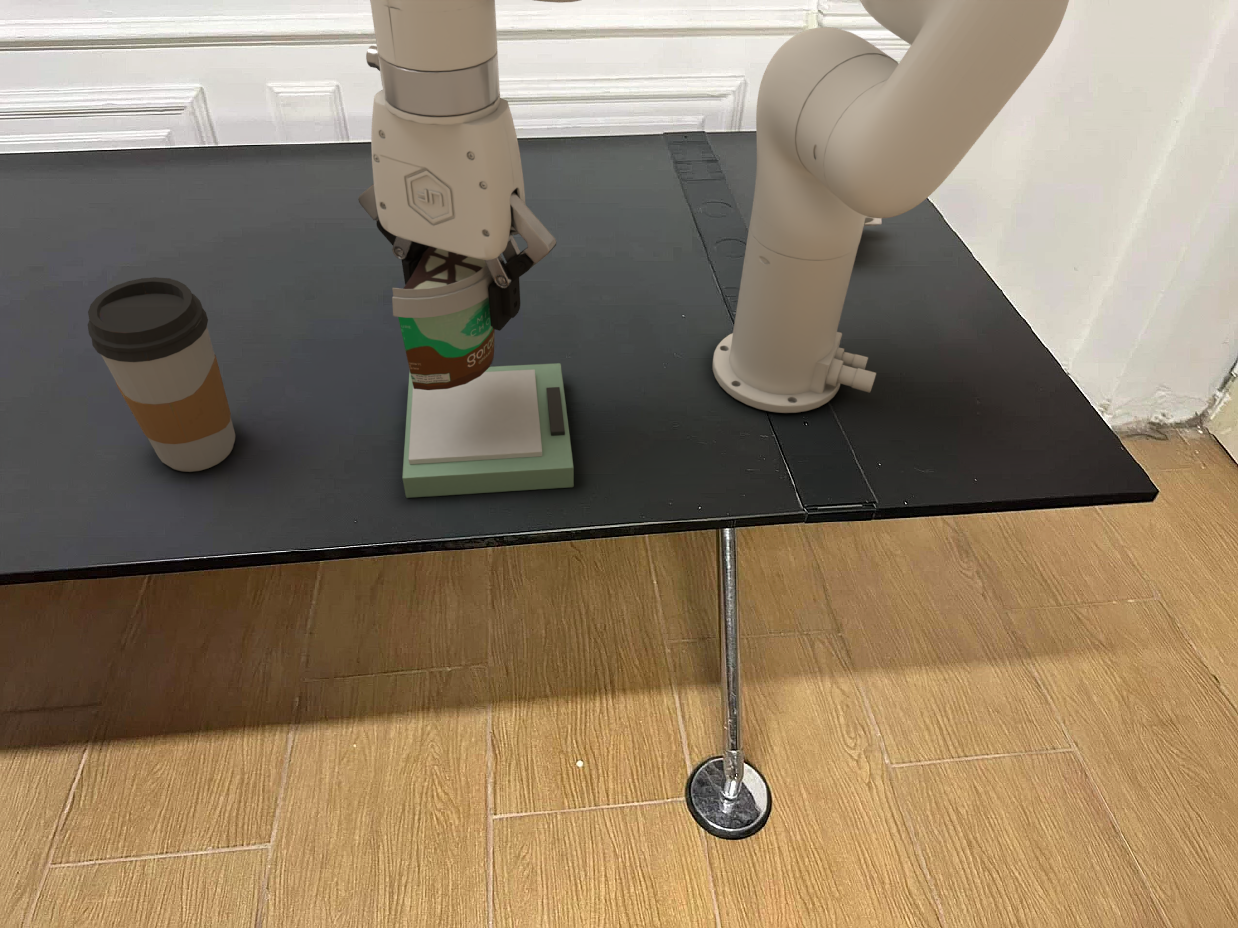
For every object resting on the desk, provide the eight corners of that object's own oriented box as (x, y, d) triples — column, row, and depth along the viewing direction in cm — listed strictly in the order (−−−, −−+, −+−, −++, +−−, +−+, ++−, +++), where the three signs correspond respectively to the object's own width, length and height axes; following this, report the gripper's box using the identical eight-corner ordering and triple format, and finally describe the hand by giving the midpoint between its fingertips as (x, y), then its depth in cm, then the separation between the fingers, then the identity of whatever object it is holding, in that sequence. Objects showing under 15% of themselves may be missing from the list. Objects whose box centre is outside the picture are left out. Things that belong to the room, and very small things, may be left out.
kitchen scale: (560, 382, 86) (560, 357, 84) (573, 487, 77) (573, 462, 75) (412, 390, 85) (408, 365, 83) (406, 498, 75) (401, 472, 73)
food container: (482, 413, 70) (473, 305, 63) (406, 400, 70) (389, 292, 63) (526, 322, 78) (522, 219, 71) (458, 312, 79) (448, 208, 72)
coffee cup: (163, 417, 81) (101, 274, 70) (258, 415, 82) (211, 273, 71) (134, 483, 75) (62, 338, 65) (236, 481, 76) (182, 336, 65)
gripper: (293, 73, 58) (342, 305, 71) (534, 128, 54) (541, 365, 66) (361, 36, 63) (395, 259, 76) (586, 84, 59) (583, 312, 71)
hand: (463, 307), depth 71 cm, fingers closed on food container, 6 cm apart
